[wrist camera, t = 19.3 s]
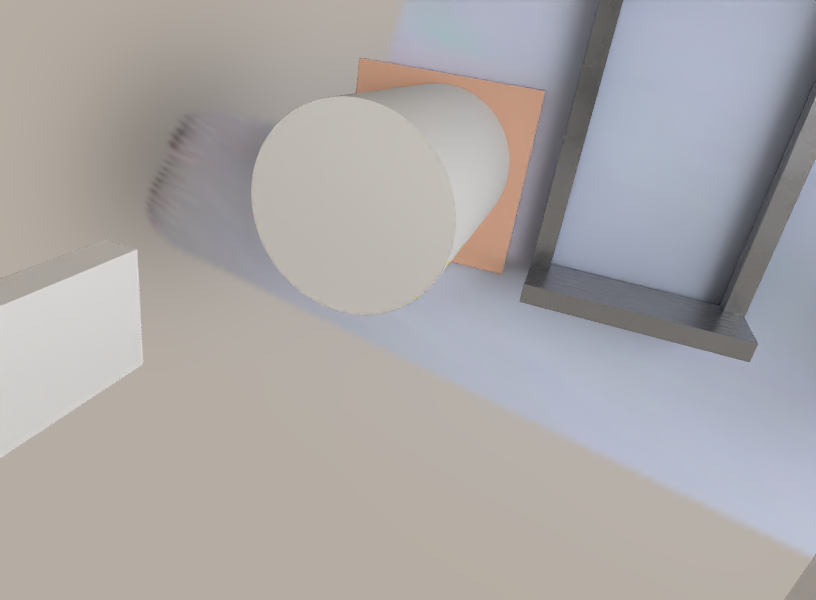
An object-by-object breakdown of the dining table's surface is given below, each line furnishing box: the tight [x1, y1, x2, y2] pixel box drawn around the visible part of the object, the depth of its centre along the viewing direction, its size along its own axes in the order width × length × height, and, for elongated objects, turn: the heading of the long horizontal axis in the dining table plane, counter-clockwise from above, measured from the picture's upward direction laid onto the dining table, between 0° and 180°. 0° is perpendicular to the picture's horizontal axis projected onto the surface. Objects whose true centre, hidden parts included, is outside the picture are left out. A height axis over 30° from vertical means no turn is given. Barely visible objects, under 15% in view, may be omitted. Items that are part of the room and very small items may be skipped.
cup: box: [251, 83, 510, 315], centre depth 26 cm, size 8×8×12 cm
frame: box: [520, 0, 816, 362], centre depth 26 cm, size 19×11×4 cm, turn 171°
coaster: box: [356, 58, 546, 274], centre depth 32 cm, size 10×10×1 cm
